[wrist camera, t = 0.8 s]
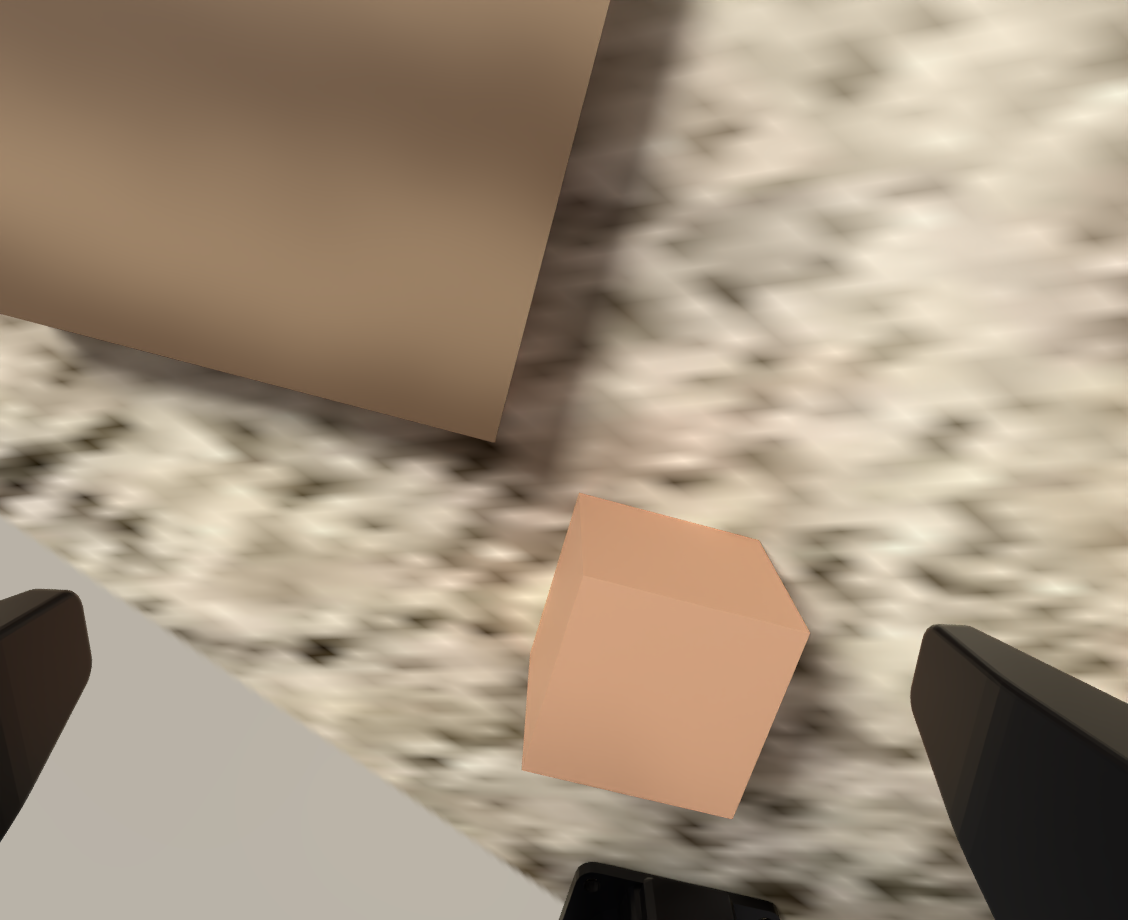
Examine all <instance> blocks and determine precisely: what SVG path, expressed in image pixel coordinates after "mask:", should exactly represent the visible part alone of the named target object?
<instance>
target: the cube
mask: <svg viewBox="0 0 1128 920" xmlns="http://www.w3.org/2000/svg"><path fill="white" fill-rule="evenodd" d="M809 635H810V632H809V630H808V628H807V626H806V625H805V623H804V621H803V619H802V617H801V616H800V614H799V612H798V610H797V608H796V606H795V605H794V603H793V601H792V599H791V597H790V596H789V594H788V592H787V590H786V588H785V587H784V585H783V583H782V581H781V579H780V578H779V576H778V574H777V572H776V570H775V569H774V567H773V565H772V563H771V561H770V560H769V558H768V556H767V554H766V552H765V550H764V549H763V547H762V545H761V543H760V541H759V540H756V539H752V538H749V537H745V536H741V535H737V534H733V533H730V532H726V531H722V530H718V529H714V528H711V527H707V526H703V525H699V524H695V523H692V522H688V521H684V520H680V519H677V518H673V517H669V516H665V515H661V514H658V513H654V512H650V511H646V510H642V509H639V508H635V507H631V506H627V505H623V504H620V503H616V502H612V501H608V500H605V499H601V498H597V497H593V496H589V495H586V494H582V493H579V495H578V498H577V502H576V505H575V508H574V511H573V515H572V518H571V521H570V525H569V528H568V531H567V534H566V538H565V541H564V544H563V548H562V551H561V554H560V557H559V561H558V564H557V567H556V571H555V574H554V577H553V581H552V584H551V587H550V590H549V594H548V597H547V600H546V604H545V607H544V610H543V613H542V617H541V620H540V623H539V627H538V630H537V633H536V636H535V640H534V643H533V646H532V650H531V653H530V663H529V676H528V690H527V704H526V718H525V731H524V745H523V759H522V770H523V771H528V772H532V773H536V774H541V775H545V776H549V777H553V778H558V779H562V780H566V781H571V782H575V783H579V784H583V785H588V786H592V787H596V788H601V789H605V790H609V791H613V792H618V793H622V794H626V795H631V796H635V797H639V798H643V799H648V800H652V801H656V802H661V803H665V804H669V805H673V806H678V807H682V808H686V809H691V810H695V811H699V812H703V813H708V814H712V815H716V816H721V817H725V818H729V819H733V817H734V814H735V812H736V810H737V807H738V805H739V802H740V800H741V798H742V795H743V793H744V790H745V788H746V786H747V783H748V781H749V778H750V776H751V774H752V771H753V769H754V766H755V764H756V762H757V759H758V757H759V754H760V752H761V750H762V747H763V745H764V743H765V740H766V738H767V735H768V733H769V731H770V728H771V726H772V723H773V721H774V719H775V716H776V714H777V711H778V709H779V707H780V704H781V702H782V699H783V697H784V695H785V692H786V690H787V687H788V685H789V683H790V680H791V678H792V676H793V673H794V671H795V668H796V666H797V664H798V661H799V659H800V656H801V654H802V652H803V649H804V647H805V644H806V642H807V640H808V637H809Z"/></svg>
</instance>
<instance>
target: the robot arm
mask: <svg viewBox="0 0 1128 920" xmlns="http://www.w3.org/2000/svg"><path fill="white" fill-rule="evenodd" d="M91 667H92V656H91V650H90V644H89V638H88V633H87V627H86V621H85V616H84V610H83V605H82V602H81V600H80V598H79V596H78V595H77V594H75V593H74V592H73V591H70V590H56V589H32V590H29V591H26V592H23V593H20V594H17V595H14V596H12V597H9V598H6V599H3V600H0V842H1V840H2V839H3V837H4V836H5V834H6V833H7V831H8V829H9V828H10V826H11V825H12V823H13V821H14V820H15V818H16V816H17V815H18V813H19V812H20V810H21V808H22V807H23V805H24V803H25V801H26V799H27V798H28V796H29V794H30V792H31V790H32V789H33V787H34V784H35V783H36V781H37V779H38V777H39V775H40V773H41V771H42V769H43V767H44V766H45V764H46V762H47V760H48V758H49V756H50V754H51V752H52V750H53V748H54V746H55V744H56V742H57V740H58V738H59V737H60V735H61V733H62V731H63V729H64V727H65V725H66V723H67V721H68V719H69V717H70V715H71V713H72V711H73V709H74V707H75V705H76V704H77V702H78V700H79V698H80V696H81V694H82V692H83V690H84V688H85V686H86V684H87V682H88V680H89V676H90V672H91ZM910 699H911V707H912V712H913V715H914V718H915V721H916V724H917V726H918V729H919V732H920V735H921V738H922V741H923V744H924V747H925V749H926V752H927V755H928V758H929V761H930V764H931V767H932V770H933V772H934V775H935V778H936V781H937V784H938V787H939V790H940V793H941V795H942V798H943V801H944V804H945V807H946V810H947V813H948V816H949V818H950V821H951V824H952V826H953V829H954V831H955V834H956V837H957V839H958V841H959V844H960V846H961V848H962V850H963V853H964V855H965V857H966V859H967V862H968V864H969V866H970V868H971V870H972V872H973V874H974V876H975V879H976V881H977V883H978V885H979V887H980V889H981V891H982V893H983V895H984V898H985V900H986V902H987V904H988V906H989V908H990V910H991V912H992V914H993V917H994V919H995V920H1128V704H1127V703H1125V702H1123V701H1121V700H1119V699H1117V698H1115V697H1113V696H1111V695H1109V694H1107V693H1105V692H1103V691H1101V690H1099V689H1097V688H1095V687H1093V686H1091V685H1089V684H1087V683H1085V682H1083V681H1081V680H1079V679H1077V678H1075V677H1073V676H1071V675H1069V674H1067V673H1064V672H1062V671H1060V670H1058V669H1056V668H1054V667H1052V666H1050V665H1048V664H1046V663H1044V662H1042V661H1040V660H1038V659H1036V658H1034V657H1032V656H1030V655H1028V654H1026V653H1024V652H1022V651H1020V650H1018V649H1016V648H1014V647H1012V646H1010V645H1008V644H1006V643H1004V642H1002V641H1000V640H998V639H995V638H993V637H991V636H989V635H987V634H985V633H983V632H981V631H979V630H977V629H975V628H973V627H971V626H966V625H947V624H936V625H932V626H931V627H929V628H928V629H927V630H926V632H925V634H924V636H923V639H922V643H921V648H920V652H919V656H918V660H917V665H916V669H915V673H914V677H913V682H912V686H911V695H910ZM588 879H596V881H594V882H589V881H587V880H588ZM761 918H766V919H764V920H780V917H779V914H778V911H777V907H776V906H775V905H774V904H773V903H771V902H768V901H765V900H760V899H756V898H751V897H747V896H742V895H738V894H734V893H729V892H725V891H720V890H716V889H712V888H707V887H703V886H698V885H694V884H689V883H685V882H681V881H676V880H672V879H667V878H663V877H658V876H654V875H650V874H645V873H641V872H636V871H632V870H628V869H623V868H619V867H614V866H610V865H605V864H601V863H597V862H588V863H584V864H582V865H581V866H580V867H578V869H577V871H576V873H575V876H574V878H573V881H572V884H571V887H570V890H569V892H568V895H567V898H566V901H565V904H564V906H563V910H562V912H561V915H560V918H559V920H759V919H761Z"/></svg>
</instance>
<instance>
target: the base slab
mask: <svg viewBox="0 0 1128 920" xmlns="http://www.w3.org/2000/svg"><path fill="white" fill-rule="evenodd" d="M609 3H610V0H0V314H3V315H7V316H11V317H15V318H19V319H23V320H26V321H30V322H34V323H38V324H42V325H46V326H49V327H53V328H57V329H61V330H65V331H68V332H72V333H76V334H80V335H84V336H88V337H91V338H95V339H99V340H103V341H107V342H111V343H114V344H118V345H122V346H126V347H130V348H134V349H137V350H141V351H145V352H149V353H153V354H157V355H160V356H164V357H168V358H172V359H176V360H180V361H183V362H187V363H191V364H195V365H199V366H203V367H206V368H210V369H214V370H218V371H222V372H226V373H229V374H233V375H237V376H241V377H245V378H249V379H252V380H256V381H260V382H264V383H268V384H271V385H275V386H279V387H283V388H287V389H291V390H294V391H298V392H302V393H306V394H310V395H314V396H317V397H321V398H325V399H329V400H333V401H337V402H340V403H344V404H348V405H352V406H356V407H360V408H363V409H367V410H371V411H375V412H379V413H383V414H386V415H390V416H394V417H398V418H402V419H406V420H409V421H413V422H417V423H421V424H425V425H429V426H432V427H436V428H440V429H444V430H448V431H451V432H455V433H459V434H463V435H467V436H471V437H474V438H478V439H482V440H486V441H490V442H494V443H495V440H496V436H497V432H498V428H499V424H500V420H501V417H502V413H503V409H504V405H505V401H506V397H507V394H508V390H509V386H510V382H511V378H512V374H513V371H514V367H515V363H516V359H517V355H518V352H519V348H520V344H521V340H522V336H523V332H524V329H525V325H526V321H527V317H528V313H529V309H530V306H531V302H532V298H533V294H534V290H535V286H536V283H537V279H538V275H539V271H540V267H541V263H542V260H543V256H544V252H545V248H546V244H547V240H548V237H549V233H550V229H551V225H552V221H553V217H554V214H555V210H556V206H557V202H558V198H559V195H560V191H561V187H562V183H563V179H564V175H565V172H566V168H567V164H568V160H569V156H570V152H571V149H572V145H573V141H574V137H575V133H576V129H577V126H578V122H579V118H580V114H581V110H582V106H583V103H584V99H585V95H586V91H587V87H588V83H589V80H590V76H591V72H592V68H593V64H594V61H595V57H596V53H597V49H598V45H599V41H600V38H601V34H602V30H603V26H604V22H605V18H606V15H607V11H608V7H609Z"/></svg>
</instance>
